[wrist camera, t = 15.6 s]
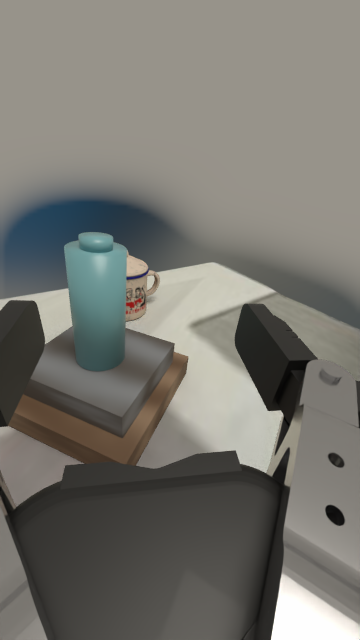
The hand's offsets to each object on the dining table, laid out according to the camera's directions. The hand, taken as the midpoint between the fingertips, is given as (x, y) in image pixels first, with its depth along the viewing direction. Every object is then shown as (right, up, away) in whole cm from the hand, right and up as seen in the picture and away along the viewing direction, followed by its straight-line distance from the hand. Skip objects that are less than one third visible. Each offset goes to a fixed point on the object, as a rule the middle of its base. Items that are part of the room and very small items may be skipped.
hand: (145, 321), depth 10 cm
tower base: (-8, -9, +21) cm, 25 cm away
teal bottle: (-7, -4, +18) cm, 20 cm away
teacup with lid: (-8, +2, +40) cm, 41 cm away
